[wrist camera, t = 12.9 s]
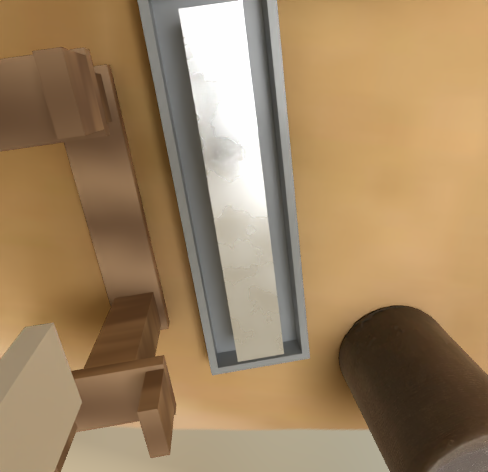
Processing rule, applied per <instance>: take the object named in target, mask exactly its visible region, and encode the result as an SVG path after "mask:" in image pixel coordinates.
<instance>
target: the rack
mask: <svg viewBox="0 0 488 472" xmlns="http://www.w3.org/2000/svg"><path fill="white" fill-rule="evenodd" d="M32 52H33V55H26V56H19V57H11V58H4V59H0V151H7V150H14V149H21V148H27V147H34V146H41V145H48V144H55V143H62V142H64V145H65V148H66V152H67V155H68V159H69V162H70V166H71V169H72V173H73V176H74V180H75V183H76V187H77V190H78V194H79V197H80V201H81V204H82V208H83V211H84V215H85V218H86V222H87V225H88V229H89V232H90V236H91V239H92V243H93V246H94V250H95V253H96V257H97V260H98V264H99V267H100V270H101V274H102V277H103V281H104V284H105V288H106V291H107V295H108V298H109V302H110V305H111V308H110V311H109V313H108V315H107V317H106V320H105V322H104V324H103V326H102V329H101V331H100V333H99V335H98V338H97V340H96V342H95V344H94V347H93V349H92V351H91V353H90V355H89V358H88V360H87V362H86V364H85V367H84V369H81V370H75V371H71V373H72V375H73V378H74V381H75V384H76V386H77V389H78V392H79V395H80V398H81V400H82V404H81V406H80V409H79V411H78V414H77V416H76V419H75V421H74V424H73V426H72V429H71V431H70V434H69V436H68V439H67V441H66V444H65V446H64V449H63V451H62V454H61V456H60V459H59V461H58V464H57V466H56V469H55V471H54V472H61V469H62V467H63V464H64V461H65V459H66V456H67V454H68V451H69V449H70V446H71V443H72V441H73V438H74V436H75V433H76V432H80V431H86V430H91V429H97V428H103V427H109V426H114V425H120V424H125V423H131V422H137V421H140V424H141V427H142V431H143V434H144V437H145V441H146V444H147V448H148V451H149V455H150V457H151V458H154V457H160V456H165V455H170V449H171V440H172V429H173V419H174V415H175V413H176V402H175V397H174V393H173V389H172V385H171V381H170V377H169V373H168V369H167V365H166V361H165V357H164V355H163V356H157V357H155V353H156V348H157V343H158V338H159V333H160V330H163V329H168V328H169V318H168V313H167V309H166V305H165V301H164V296H163V292H162V288H161V283H160V279H159V275H158V270H157V266H156V262H155V257H154V253H153V249H152V244H151V240H150V236H149V231H148V227H147V223H146V218H145V214H144V210H143V205H142V201H141V197H140V192H139V188H138V184H137V179H136V175H135V171H134V167H133V162H132V158H131V154H130V149H129V145H128V141H127V136H126V132H125V128H124V123H123V119H122V115H121V110H120V106H119V102H118V97H117V93H116V89H115V84H114V80H113V76H112V71H111V67H110V65H100V66H93V63H92V59H91V55H90V50H89V49H86V48H77V49H70V50H68V49H66V48H63V47H58V48H51V49H44V50H36V51H32Z"/></svg>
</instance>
